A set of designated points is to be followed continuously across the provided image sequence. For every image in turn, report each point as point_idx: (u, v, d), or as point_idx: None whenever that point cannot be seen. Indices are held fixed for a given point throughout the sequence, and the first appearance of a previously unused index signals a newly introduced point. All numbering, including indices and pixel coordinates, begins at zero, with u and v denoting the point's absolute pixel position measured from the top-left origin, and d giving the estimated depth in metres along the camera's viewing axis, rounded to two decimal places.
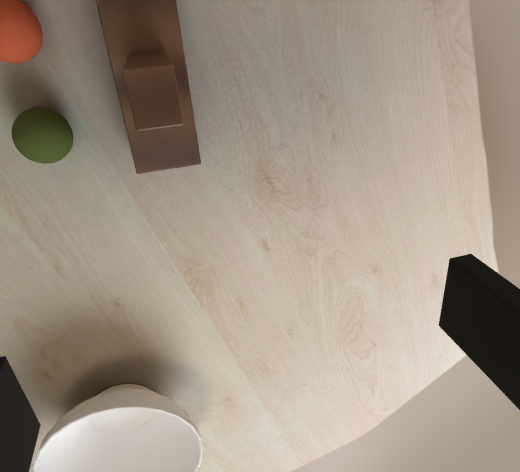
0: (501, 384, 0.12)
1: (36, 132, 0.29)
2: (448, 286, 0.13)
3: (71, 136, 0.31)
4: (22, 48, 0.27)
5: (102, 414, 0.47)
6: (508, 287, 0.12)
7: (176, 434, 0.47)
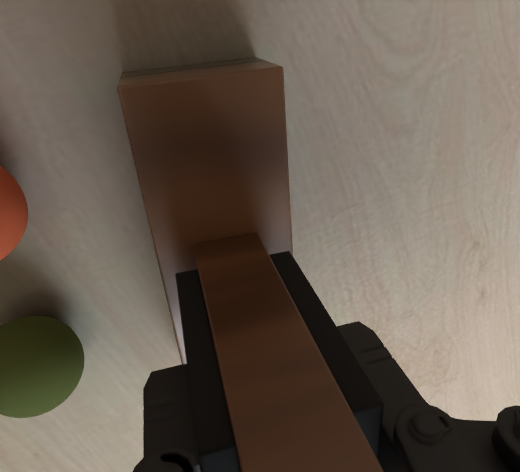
0: None
1: (17, 387, 0.15)
2: None
3: (82, 362, 0.17)
4: None
5: None
6: (300, 281, 0.13)
7: None
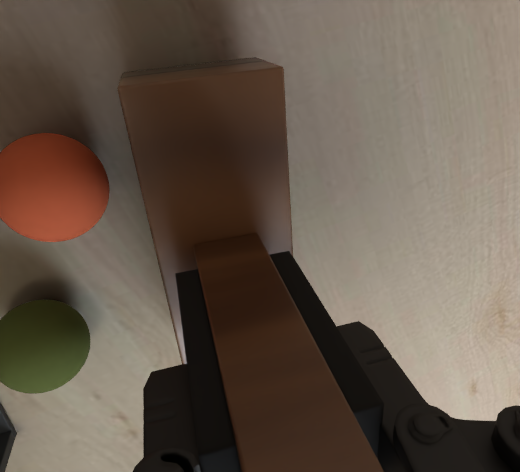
0: None
1: (80, 325, 0.18)
2: None
3: None
4: None
5: None
6: (300, 281, 0.13)
7: None
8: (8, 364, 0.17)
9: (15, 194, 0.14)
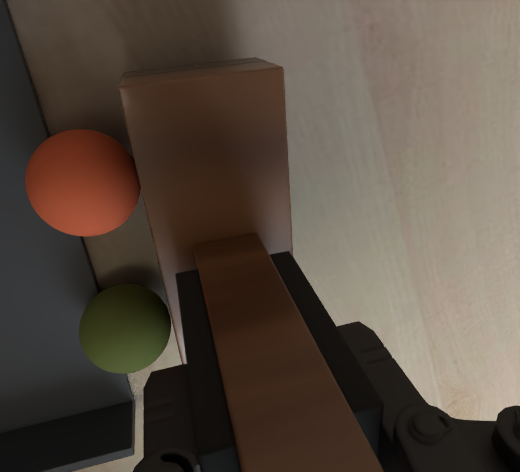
0: None
1: (128, 342, 0.17)
2: None
3: (170, 323, 0.20)
4: (119, 219, 0.15)
5: None
6: (300, 281, 0.13)
7: None
8: (80, 320, 0.19)
9: None
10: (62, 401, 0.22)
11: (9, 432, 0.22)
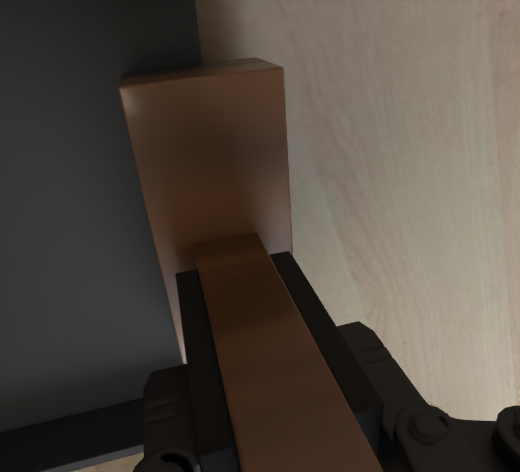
0: None
1: None
2: None
3: None
4: None
5: None
6: (300, 281, 0.13)
7: None
8: None
9: None
10: None
11: (131, 402, 0.23)
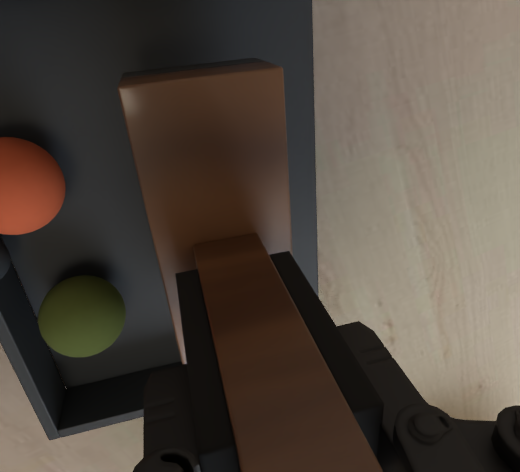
0: None
1: (48, 331, 0.19)
2: None
3: (109, 334, 0.20)
4: None
5: None
6: (300, 281, 0.13)
7: None
8: None
9: (54, 159, 0.18)
10: None
11: None
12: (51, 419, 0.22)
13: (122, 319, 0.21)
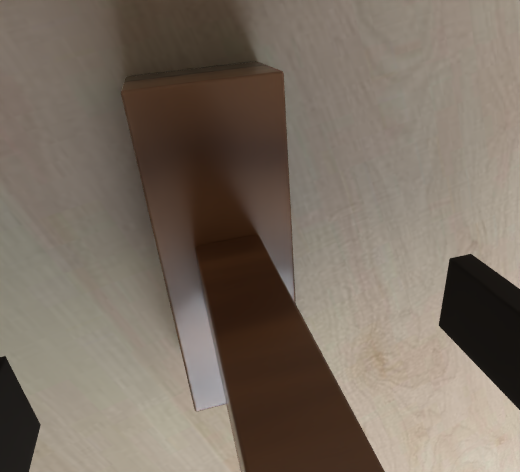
0: (501, 384, 0.12)
1: None
2: (448, 286, 0.13)
3: None
4: None
5: None
6: (508, 287, 0.12)
7: None
8: None
9: None
10: None
11: None
12: None
13: None
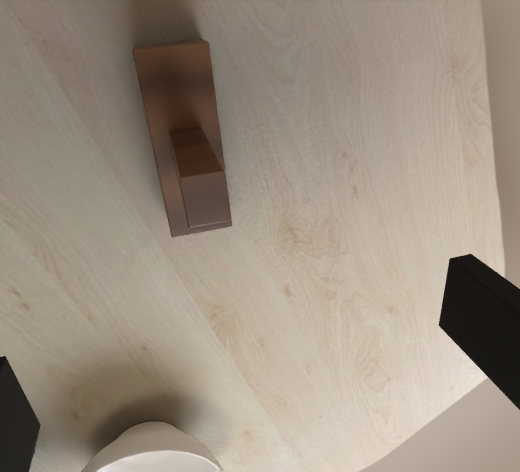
0: (501, 384, 0.12)
1: None
2: (448, 286, 0.13)
3: None
4: None
5: None
6: (508, 287, 0.12)
7: (199, 469, 0.48)
8: None
9: None
10: None
11: None
12: None
13: None
